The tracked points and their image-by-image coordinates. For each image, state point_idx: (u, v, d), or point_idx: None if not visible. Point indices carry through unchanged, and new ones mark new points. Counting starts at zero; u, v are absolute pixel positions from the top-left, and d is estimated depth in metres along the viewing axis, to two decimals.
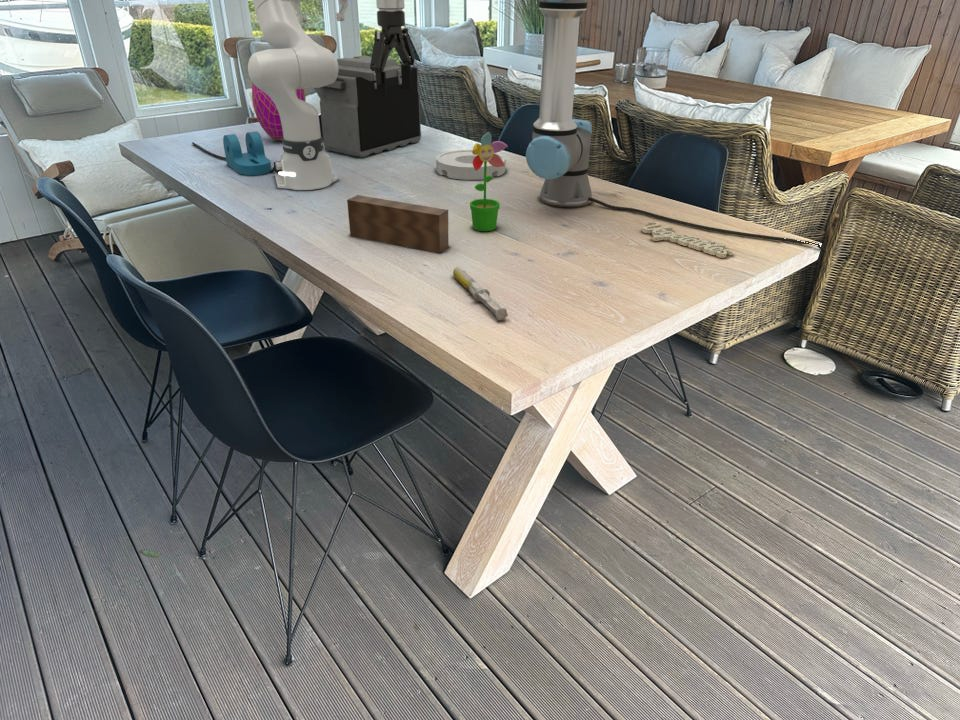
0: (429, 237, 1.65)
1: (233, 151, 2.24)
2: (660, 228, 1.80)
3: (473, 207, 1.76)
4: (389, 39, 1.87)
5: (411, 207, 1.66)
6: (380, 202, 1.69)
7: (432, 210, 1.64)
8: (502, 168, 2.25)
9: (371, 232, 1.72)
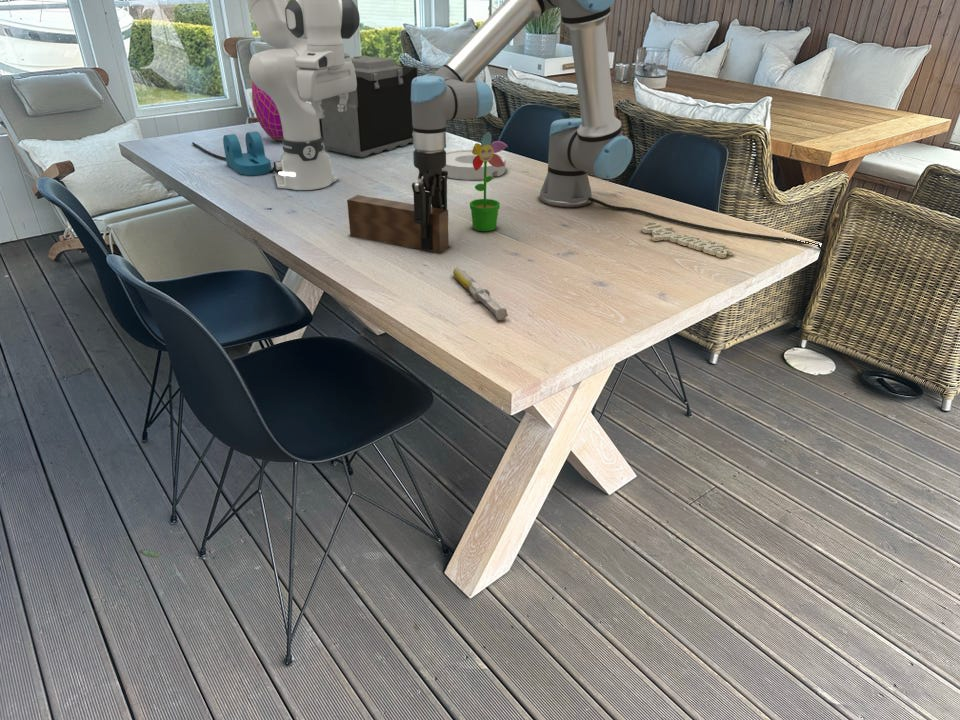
0: None
1: (233, 151, 2.24)
2: (660, 228, 1.80)
3: (473, 207, 1.76)
4: (427, 183, 1.58)
5: (411, 207, 1.66)
6: (380, 202, 1.69)
7: (432, 210, 1.64)
8: (502, 168, 2.25)
9: (371, 232, 1.72)
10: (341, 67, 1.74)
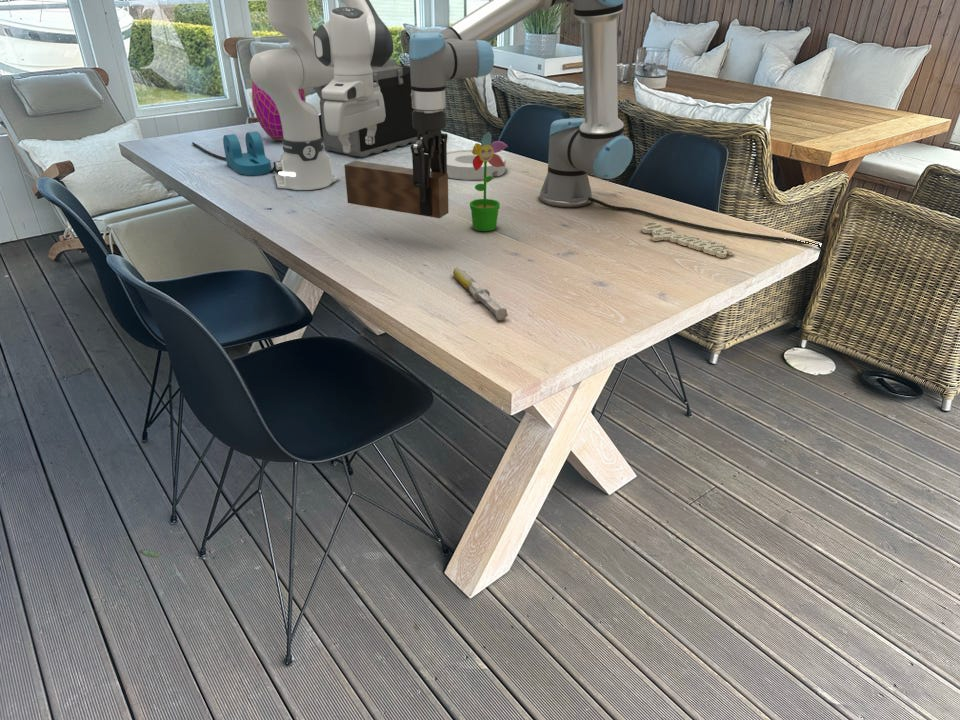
0: None
1: (233, 151, 2.24)
2: (660, 228, 1.80)
3: (473, 207, 1.76)
4: (426, 145, 1.53)
5: (410, 171, 1.62)
6: (378, 167, 1.65)
7: (431, 174, 1.60)
8: (502, 168, 2.25)
9: (369, 199, 1.68)
10: (370, 97, 1.62)
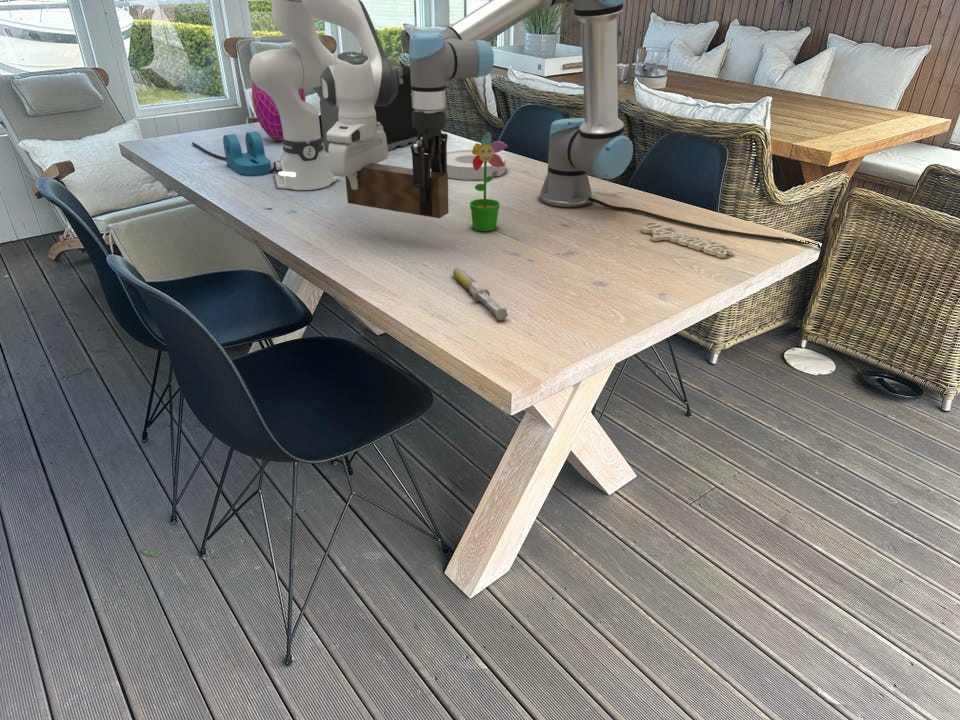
0: None
1: (233, 151, 2.24)
2: (660, 228, 1.80)
3: (473, 207, 1.76)
4: (426, 145, 1.53)
5: (410, 171, 1.62)
6: (378, 167, 1.65)
7: (431, 174, 1.60)
8: (502, 168, 2.25)
9: (369, 199, 1.68)
10: (373, 137, 1.66)
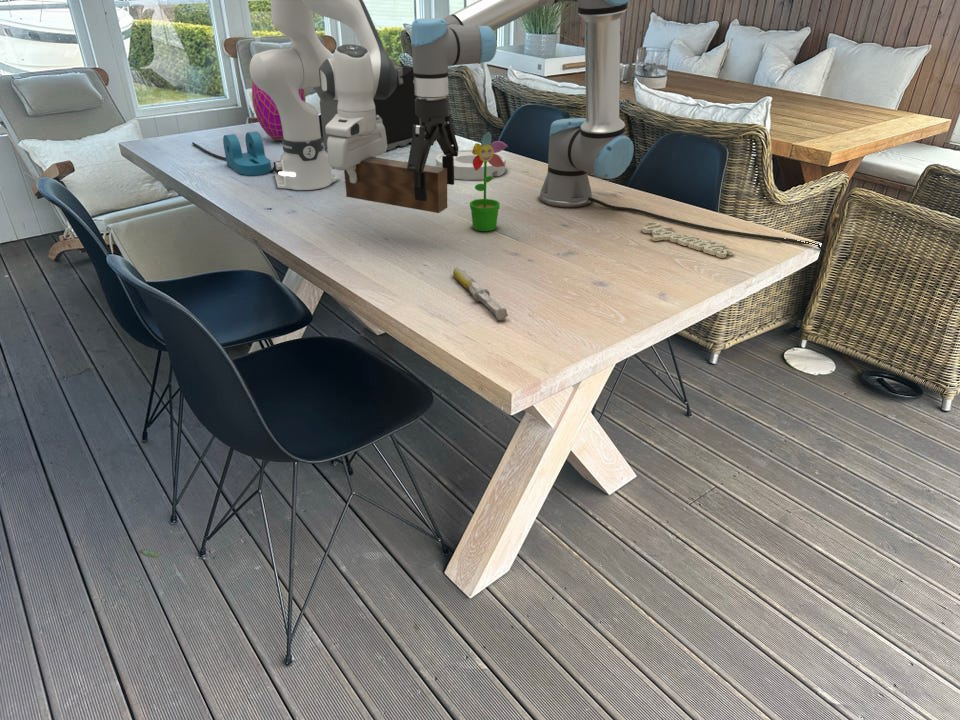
0: (428, 197, 1.61)
1: (233, 151, 2.24)
2: (660, 228, 1.80)
3: (473, 207, 1.76)
4: (430, 133, 1.52)
5: None
6: (377, 160, 1.64)
7: (431, 168, 1.59)
8: (502, 168, 2.25)
9: (368, 192, 1.67)
10: (372, 131, 1.65)
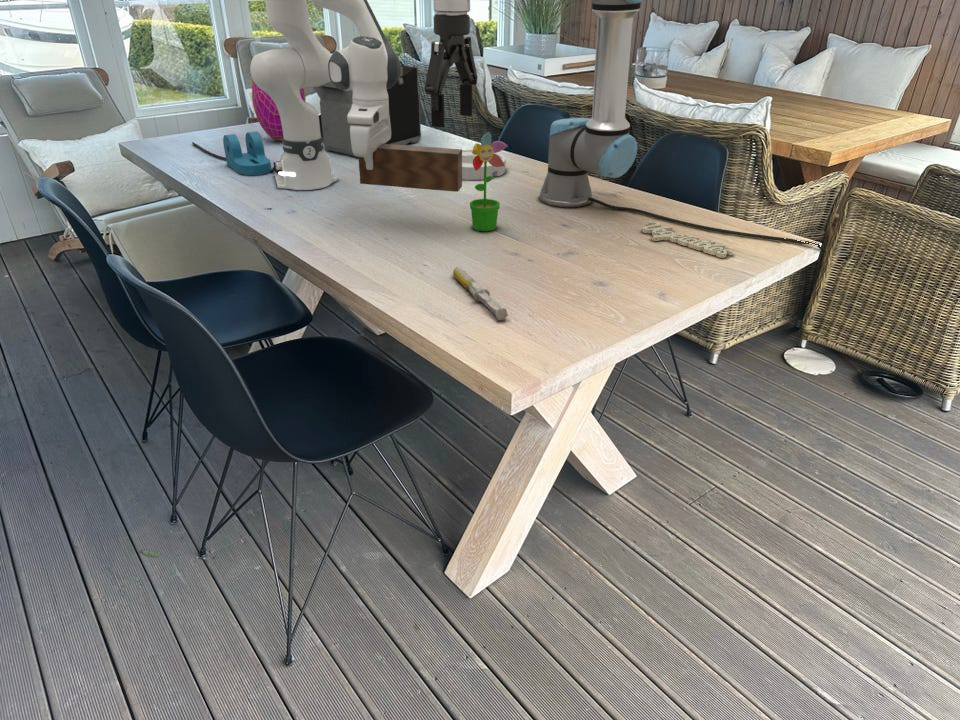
0: (447, 177, 1.72)
1: (233, 151, 2.24)
2: (660, 228, 1.80)
3: (473, 207, 1.76)
4: (449, 52, 1.41)
5: (425, 149, 1.72)
6: (392, 146, 1.73)
7: (448, 150, 1.71)
8: (502, 168, 2.25)
9: (384, 178, 1.76)
10: None
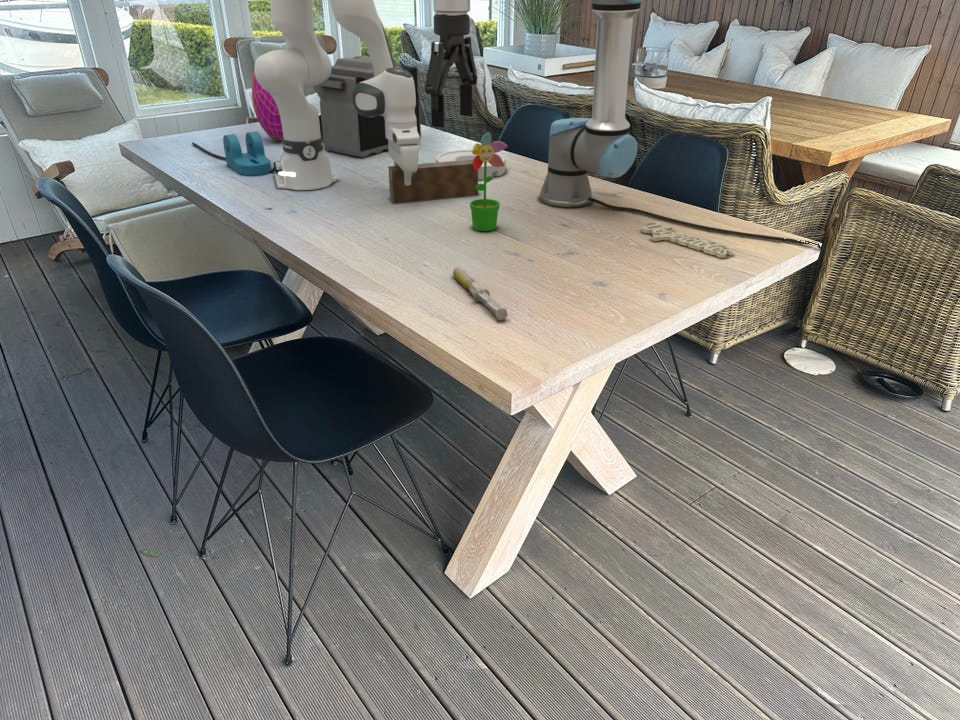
0: (469, 184, 2.04)
1: (233, 151, 2.24)
2: (660, 228, 1.80)
3: (473, 207, 1.76)
4: (449, 52, 1.41)
5: (447, 163, 2.01)
6: (419, 166, 1.98)
7: (465, 162, 2.03)
8: (502, 168, 2.25)
9: (415, 194, 2.00)
10: None
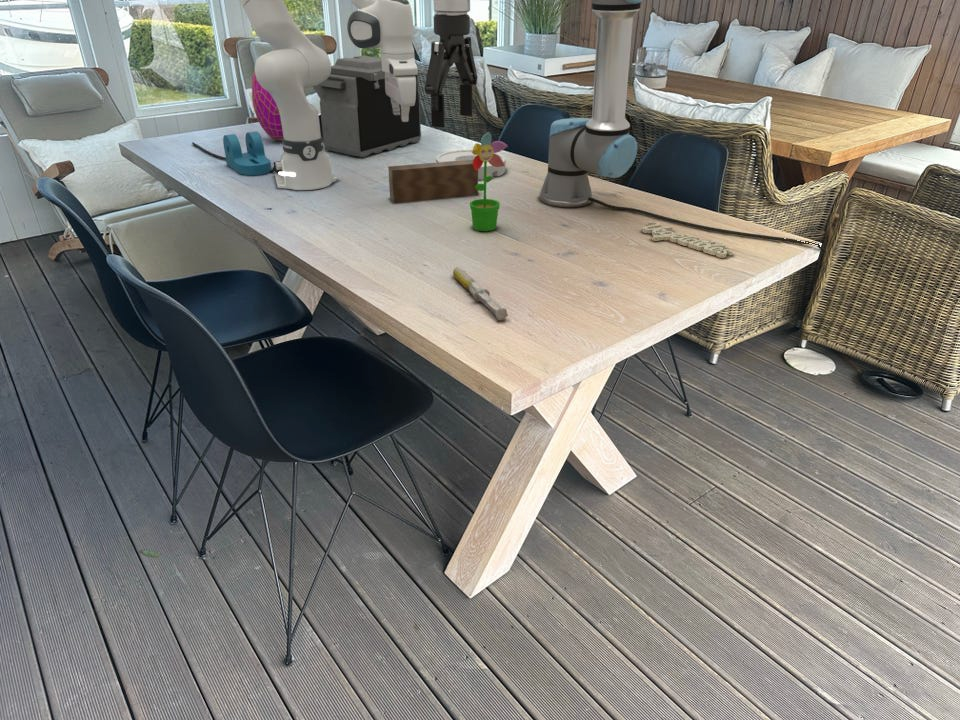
0: (469, 184, 2.04)
1: (233, 151, 2.24)
2: (660, 228, 1.80)
3: (473, 207, 1.76)
4: (449, 52, 1.41)
5: (447, 163, 2.01)
6: (419, 166, 1.98)
7: (465, 162, 2.03)
8: (502, 168, 2.25)
9: (415, 194, 2.00)
10: None
